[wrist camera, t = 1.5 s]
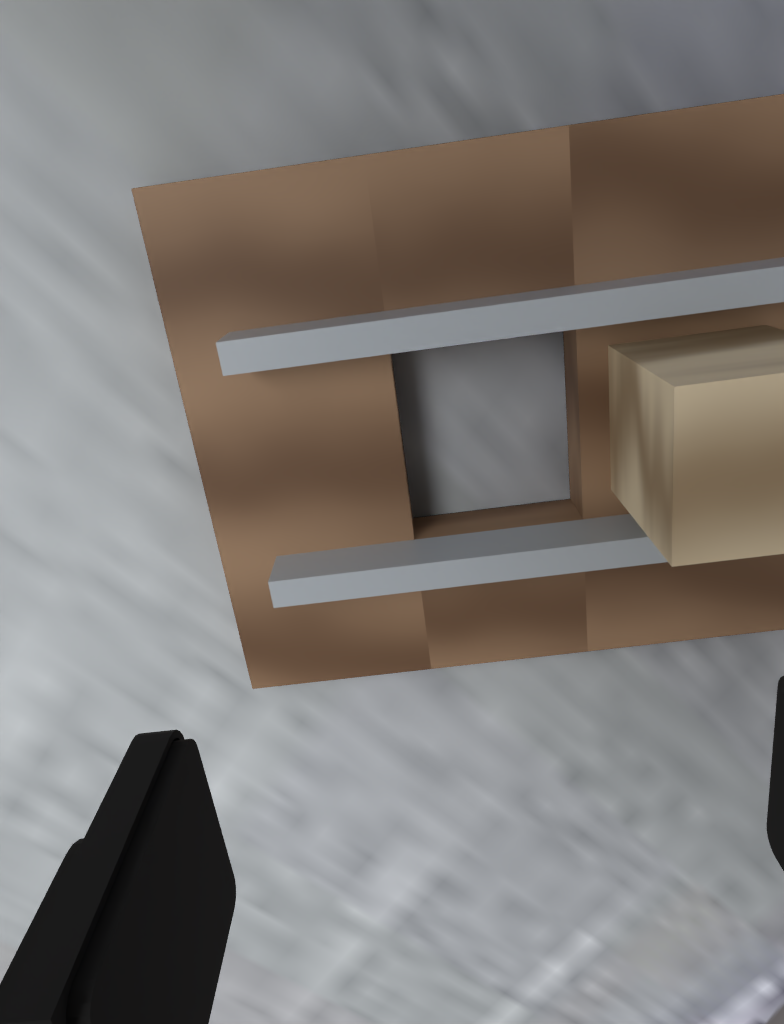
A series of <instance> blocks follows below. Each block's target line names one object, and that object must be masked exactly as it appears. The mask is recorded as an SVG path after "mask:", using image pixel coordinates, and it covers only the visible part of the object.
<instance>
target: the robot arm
mask: <svg viewBox="0 0 784 1024" xmlns="http://www.w3.org/2000/svg"><path fill="white" fill-rule="evenodd" d="M767 834H768V839H769V843H770V846H771V849H772V851H773V853H774V855H775V857H776V859H777V861H778V862H779V864H780V866H781V867H782V869H783V871H784V676H782V677H781V678H780V680H779V682H778V690H777V703H776V715H775V728H774V740H773V753H772V765H771V778H770V790H769V803H768V815H767ZM235 900H236V885H235V878H234V874H233V870H232V867H231V863H230V860H229V856H228V853H227V849H226V846H225V842H224V839H223V835H222V832H221V828H220V824H219V821H218V817H217V814H216V810H215V807H214V803H213V800H212V796H211V793H210V789H209V785H208V782H207V778H206V775H205V771H204V768H203V764H202V761H201V757H200V754H199V750H198V747H197V744H196V742H195V741H194V740H193V739H185V740H184V737H183V735H182V733H181V732H180V731H178V730H170V731H160V732H151V733H142V734H138V735H136V736H135V737H134V739H133V740H132V742H131V744H130V746H129V748H128V750H127V752H126V754H125V756H124V758H123V760H122V762H121V764H120V766H119V768H118V770H117V773H116V775H115V777H114V779H113V781H112V783H111V785H110V787H109V789H108V791H107V793H106V795H105V797H104V799H103V801H102V803H101V805H100V807H99V809H98V811H97V813H96V815H95V817H94V819H93V821H92V823H91V825H90V827H89V830H88V832H87V834H86V836H85V838H84V839H79V840H78V841H77V842H75V843H74V844H73V845H72V846H71V848H70V849H69V851H68V852H67V854H66V856H65V858H64V859H63V861H62V863H61V865H60V867H59V869H58V871H57V873H56V875H55V877H54V879H53V881H52V883H51V885H50V887H49V889H48V891H47V893H46V895H45V897H44V899H43V901H42V903H41V905H40V907H39V909H38V911H37V913H36V915H35V917H34V919H33V921H32V923H31V925H30V927H29V929H28V931H27V932H26V934H25V936H24V938H23V940H22V942H21V944H20V946H19V948H18V950H17V952H16V954H15V956H14V958H13V960H12V962H11V964H10V966H9V968H8V970H7V972H6V974H5V976H4V978H3V980H2V982H1V984H0V1024H208V1023H209V1018H210V1014H211V1010H212V1005H213V1001H214V996H215V992H216V987H217V983H218V979H219V974H220V970H221V965H222V961H223V956H224V952H225V948H226V943H227V939H228V934H229V930H230V926H231V921H232V917H233V912H234V908H235Z"/></svg>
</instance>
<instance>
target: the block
mask: <svg viewBox="0 0 784 1024" xmlns="http://www.w3.org/2000/svg"><path fill="white" fill-rule="evenodd" d="M608 366H609V416H610V466H611V490H612V492H613V493H614V494H615V495H616V497H617V498H618V499H619V500H620V502H621V503H622V504H623V506H624V507H625V508H626V509H627V511H628V512H629V513H630V514H631V516H632V517H633V518H634V519H635V521H636V522H637V523H638V525H639V526H640V527H641V528H642V530H643V531H644V532H645V533H646V535H647V536H648V537H649V538H650V540H651V541H652V542H653V544H654V545H655V546H656V547H657V549H658V550H659V551H660V552H661V554H662V555H663V556H664V557H665V559H666V560H667V561H668V563H669V564H670V565H671V566H672V567H675V566H683V565H692V564H700V563H709V562H718V561H726V560H735V559H743V558H752V557H760V556H769V555H778V554H784V330H781V329H778V328H775V327H771V326H768V325H760V326H753V327H745V328H737V329H730V330H722V331H714V332H707V333H699V334H692V335H684V336H676V337H669V338H661V339H653V340H646V341H638V342H630V343H623V344H615V345H608Z"/></svg>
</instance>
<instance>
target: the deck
mask: <svg viewBox="0 0 784 1024" xmlns="http://www.w3.org/2000/svg"><path fill="white" fill-rule="evenodd" d="M132 193H133V197H134V201H135V206H136V210H137V214H138V218H139V222H140V226H141V230H142V234H143V239H144V243H145V247H146V251H147V255H148V259H149V263H150V267H151V272H152V276H153V280H154V284H155V288H156V292H157V296H158V301H159V305H160V309H161V313H162V317H163V321H164V325H165V329H166V334H167V338H168V342H169V346H170V350H171V354H172V358H173V362H174V367H175V371H176V375H177V379H178V383H179V387H180V391H181V395H182V400H183V404H184V408H185V412H186V416H187V420H188V424H189V428H190V433H191V437H192V441H193V445H194V449H195V453H196V457H197V461H198V466H199V470H200V474H201V478H202V482H203V486H204V490H205V494H206V499H207V503H208V507H209V511H210V515H211V519H212V523H213V528H214V532H215V536H216V540H217V544H218V548H219V552H220V556H221V561H222V565H223V569H224V573H225V577H226V581H227V585H228V589H229V594H230V598H231V602H232V606H233V610H234V614H235V618H236V622H237V627H238V631H239V635H240V639H241V643H242V647H243V651H244V655H245V660H246V664H247V668H248V672H249V676H250V680H251V684H252V688H253V689H255V688H264V687H273V686H282V685H291V684H300V683H309V682H318V681H327V680H336V679H345V678H353V677H362V676H371V675H380V674H389V673H398V672H407V671H416V670H425V669H434V668H443V667H452V666H461V665H470V664H479V663H488V662H497V661H505V660H514V659H523V658H532V657H541V656H550V655H559V654H568V653H577V652H586V651H595V650H604V649H613V648H622V647H631V646H640V645H649V644H657V643H666V642H675V641H684V640H693V639H702V638H711V637H720V636H729V635H738V634H747V633H756V632H765V631H774V630H783V629H784V554H778V555H769V556H760V557H752V558H743V559H735V560H726V561H718V562H709V563H700V564H692V565H683V566H675V567H672V566H671V565H670V564H669V563H668V562H664V563H655V564H646V565H638V566H629V567H621V568H612V569H604V570H595V571H587V572H578V573H569V574H561V575H552V576H544V577H535V578H527V579H518V580H510V581H501V582H492V583H484V584H475V585H467V586H458V587H450V588H441V589H433V590H424V591H415V592H407V593H398V594H390V595H381V596H373V597H364V598H356V599H347V600H338V601H330V602H321V603H313V604H304V605H296V606H287V607H279V608H274V607H273V603H272V598H271V593H270V589H269V584H268V581H269V578H270V575H271V572H272V569H273V565H274V562H275V559H276V556H283V555H291V554H299V553H308V552H316V551H324V550H333V549H341V548H349V547H358V546H366V545H374V544H383V543H391V542H399V541H408V540H416V539H424V538H433V537H441V536H449V535H457V534H466V533H474V532H482V531H491V530H499V529H507V528H516V527H524V526H532V525H541V524H549V523H557V522H566V521H574V520H582V519H591V518H599V517H607V516H616V515H624V514H630V513H629V512H628V511H627V509H626V508H625V507H624V506H623V504H622V503H621V502H620V500H619V499H618V498H617V497H616V495H615V494H614V493H613V492H612V490H611V466H610V416H609V366H608V345H615V344H623V343H630V342H638V341H646V340H653V339H661V338H669V337H676V336H684V335H692V334H699V333H707V332H714V331H722V330H730V329H737V328H745V327H753V326H760V325H768V326H771V327H775V328H778V329H781V330H784V302H779V303H772V304H764V305H757V306H749V307H741V308H734V309H726V310H719V311H711V312H704V313H696V314H689V315H681V316H673V317H666V318H658V319H651V320H643V321H636V322H628V323H621V324H613V325H605V326H598V327H590V328H583V329H575V330H568V331H563V340H564V363H565V387H566V410H567V434H568V457H569V481H570V499H565V500H557V501H549V502H541V503H532V504H524V505H516V506H508V507H500V508H491V509H483V510H475V511H467V512H458V513H450V514H442V515H434V516H426V517H417V518H413V516H412V508H411V501H410V493H409V485H408V478H407V470H406V462H405V455H404V447H403V439H402V432H401V424H400V416H399V409H398V401H397V393H396V386H395V378H394V370H393V363H392V355H391V354H386V355H379V356H371V357H363V358H356V359H348V360H341V361H333V362H326V363H318V364H310V365H303V366H295V367H288V368H280V369H273V370H265V371H258V372H250V373H242V374H235V375H227V376H223V374H222V369H221V365H220V360H219V355H218V351H217V346H216V342H217V341H218V340H220V339H221V338H222V337H224V336H225V335H226V334H228V333H229V332H234V331H242V330H249V329H256V328H264V327H271V326H279V325H286V324H293V323H301V322H308V321H316V320H323V319H330V318H338V317H345V316H353V315H360V314H367V313H375V312H382V311H390V310H397V309H404V308H412V307H419V306H427V305H434V304H441V303H449V302H456V301H464V300H471V299H478V298H486V297H493V296H501V295H508V294H516V293H523V292H530V291H538V290H545V289H553V288H560V287H567V286H575V285H582V284H590V283H597V282H604V281H612V280H619V279H627V278H634V277H641V276H649V275H656V274H664V273H671V272H678V271H686V270H693V269H701V268H708V267H715V266H723V265H730V264H738V263H745V262H752V261H760V260H767V259H775V258H782V257H784V94H780V95H773V96H766V97H759V98H752V99H745V100H739V101H732V102H725V103H718V104H711V105H704V106H697V107H690V108H684V109H677V110H670V111H663V112H656V113H649V114H642V115H635V116H628V117H622V118H615V119H608V120H601V121H594V122H587V123H580V124H573V125H566V126H560V127H553V128H546V129H539V130H532V131H525V132H518V133H511V134H504V135H498V136H491V137H484V138H477V139H470V140H463V141H456V142H449V143H442V144H436V145H429V146H422V147H415V148H408V149H401V150H394V151H387V152H380V153H374V154H367V155H360V156H353V157H346V158H339V159H332V160H325V161H319V162H312V163H305V164H298V165H291V166H284V167H277V168H270V169H263V170H257V171H250V172H243V173H236V174H229V175H222V176H215V177H208V178H201V179H195V180H188V181H181V182H174V183H167V184H160V185H153V186H146V187H139V188H133V189H132Z"/></svg>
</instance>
